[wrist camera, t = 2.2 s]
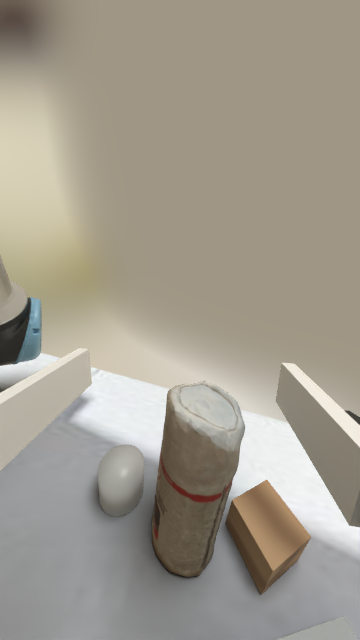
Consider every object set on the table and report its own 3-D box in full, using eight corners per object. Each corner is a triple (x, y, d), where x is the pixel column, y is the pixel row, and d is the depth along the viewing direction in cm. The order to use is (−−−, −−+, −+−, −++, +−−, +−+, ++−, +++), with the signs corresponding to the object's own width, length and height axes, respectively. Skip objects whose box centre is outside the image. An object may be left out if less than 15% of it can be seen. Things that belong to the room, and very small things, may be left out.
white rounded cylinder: (94, 520, 24) (92, 495, 22) (103, 469, 30) (102, 446, 28) (143, 512, 25) (144, 488, 24) (143, 465, 31) (144, 442, 29)
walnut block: (260, 595, 20) (273, 571, 18) (225, 524, 25) (232, 500, 23) (297, 560, 22) (311, 537, 21) (258, 502, 27) (266, 479, 26)
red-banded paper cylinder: (168, 476, 29) (180, 365, 23) (221, 504, 27) (252, 387, 20) (136, 550, 22) (141, 417, 15) (206, 599, 19) (248, 463, 13)
